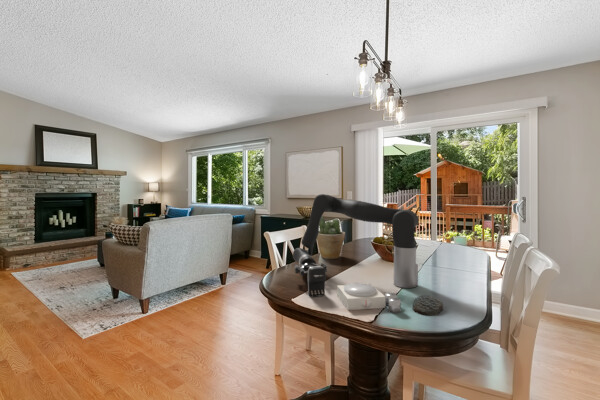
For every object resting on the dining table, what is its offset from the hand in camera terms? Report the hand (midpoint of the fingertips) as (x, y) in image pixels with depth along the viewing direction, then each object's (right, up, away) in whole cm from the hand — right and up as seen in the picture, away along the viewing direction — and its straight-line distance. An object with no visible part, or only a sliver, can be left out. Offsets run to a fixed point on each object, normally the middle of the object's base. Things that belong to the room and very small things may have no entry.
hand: (313, 273), depth 122 cm
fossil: (+39, -8, -20) cm, 45 cm away
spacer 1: (+28, -7, -18) cm, 34 cm away
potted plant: (+14, -5, +57) cm, 58 cm away
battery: (+1, -7, -9) cm, 11 cm away
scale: (+17, -7, -15) cm, 24 cm away
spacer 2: (+27, -7, -23) cm, 37 cm away
